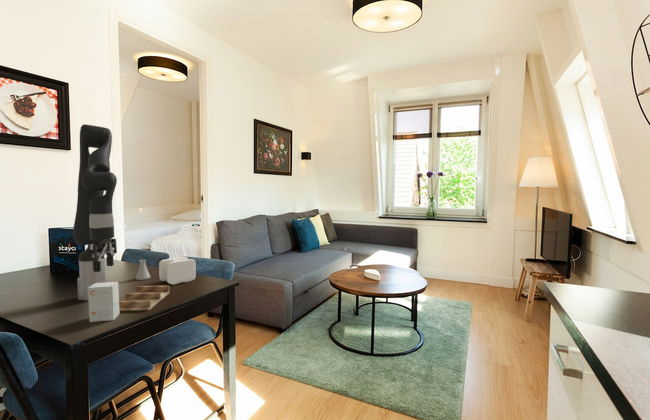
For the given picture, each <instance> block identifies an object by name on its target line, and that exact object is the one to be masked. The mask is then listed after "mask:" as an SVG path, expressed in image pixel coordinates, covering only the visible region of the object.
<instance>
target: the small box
mask: <svg viewBox="0 0 650 420" xmlns="http://www.w3.org/2000/svg"><path fill="white" fill-rule="evenodd" d="M119 292H120V291H119V281H110V282H109V281H107V282H106V281H105V283H95V284H93V285H91V286H90V287H88V319H89V323H96V322H103V321H104V322H105V321H108V322H109V321H114V320H115V319H116V318H117V317H118V316H119V315H120V314H121V313H120V312H121V311H119V301H120V293H119Z"/></svg>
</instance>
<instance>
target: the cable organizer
mask: <svg viewBox="0 0 650 420" xmlns="http://www.w3.org/2000/svg"><path fill="white" fill-rule="evenodd" d="M196 265H197V264H196V260H195V259H192V258H190V259H189V258H188V257H186V256H182V257H175V258H168V259H167V258H166V259H162V260H160V261H159V263H158V270H159V271H158V273H159V274H158V275H159V276H158V277H159V280H160V281H162V282H166V283H168V284H170V285H177V284H181V283H189V282H192V281H194V280H195V279H196V277H197V276H196V271H197V270H196V269H197V267H196Z"/></svg>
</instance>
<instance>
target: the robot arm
mask: <svg viewBox="0 0 650 420" xmlns="http://www.w3.org/2000/svg"><path fill="white" fill-rule="evenodd" d="M79 129H80V131H79V167H78V169H79V170H78V171H79V172H78V181H77V199H76V200H77V201H76V211H75V218H74V224H73V229H72V238H73V240H74V243H75V245H77V246H87V247H86V248H85V250H83V251H82V252H80V253H79V255H78V267H79V271H78V272H79V276H78V278H77V299H78V300H79V301H88V287H90V286H91V285H93V284H95V283H105V282H106V266H107V267H112V266H114V265H115V263H114V256H115V255H116V254H117V253H118V249H117V239H116V238H114V237H115V224H114V223H115V221H114V214H113V198H114V193H115V189H116V187H117V184H118V183H117V182H118V179H117V176H116V175H115V174H114V173H113V172H111V165H110V164H111V163H110V159H111V152H112V143H113V142H112V141H113V135H112V130H111V129H110V128H108V127H104V126H98V125H93V124H92V125H91V124H85V123H84V124H82V125H81V126H80V128H79ZM89 148H94V149H95V150H94V151H92V152H91V153H90V149H89ZM105 256H106V261H105ZM105 263H106V264H105ZM88 302H89V301H88Z"/></svg>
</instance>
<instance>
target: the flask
mask: <svg viewBox="0 0 650 420" xmlns="http://www.w3.org/2000/svg"><path fill="white" fill-rule="evenodd" d="M146 262H147V260H146V259H140V260H139V268H138V271H137V274H136V277H135V280H136V281H142V280H143V281H144V280H149V279H151V275H150V272H149V270H148V268H147V264H146Z"/></svg>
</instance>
